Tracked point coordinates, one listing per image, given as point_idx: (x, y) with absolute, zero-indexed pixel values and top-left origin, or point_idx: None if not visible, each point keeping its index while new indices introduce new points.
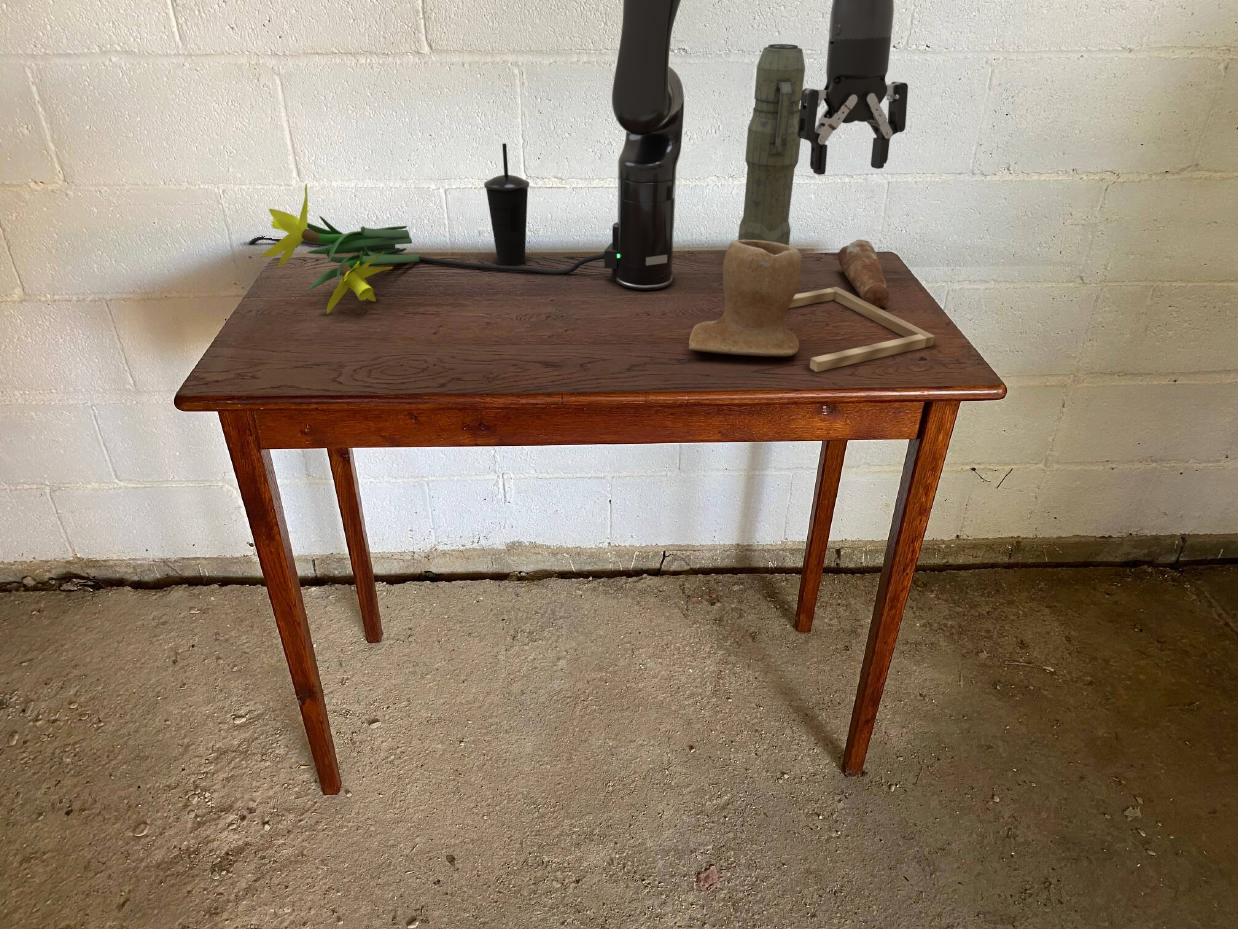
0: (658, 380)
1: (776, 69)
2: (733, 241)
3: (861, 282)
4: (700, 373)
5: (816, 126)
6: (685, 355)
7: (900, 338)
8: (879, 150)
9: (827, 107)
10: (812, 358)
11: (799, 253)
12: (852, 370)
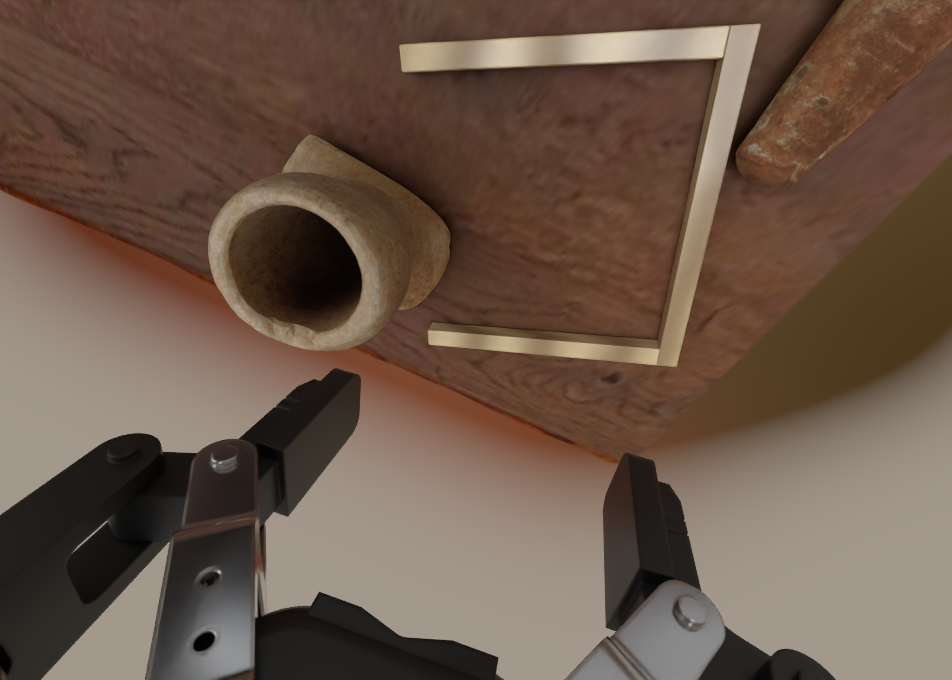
0: None
1: None
2: (213, 234)
3: (784, 103)
4: None
5: (184, 515)
6: None
7: (612, 346)
8: (609, 561)
9: (151, 659)
10: (428, 332)
11: (369, 331)
12: (486, 355)
